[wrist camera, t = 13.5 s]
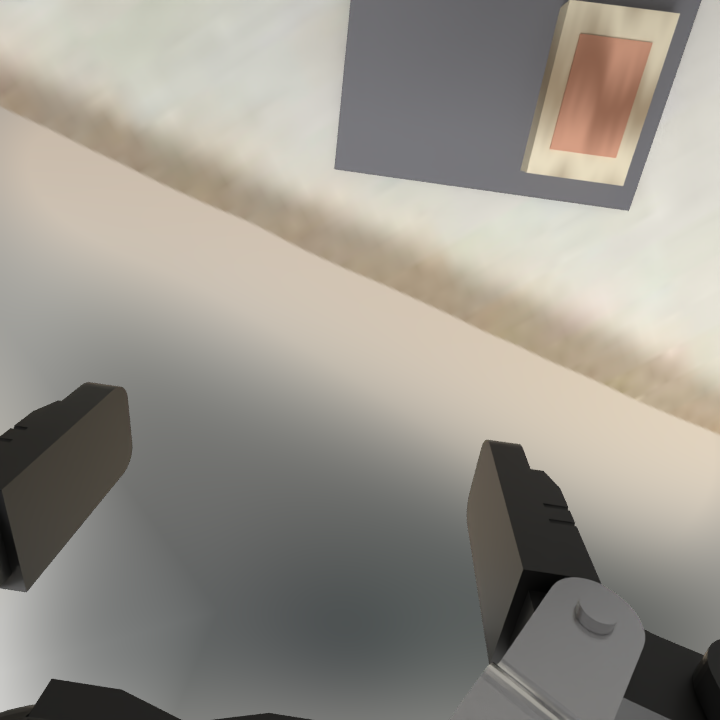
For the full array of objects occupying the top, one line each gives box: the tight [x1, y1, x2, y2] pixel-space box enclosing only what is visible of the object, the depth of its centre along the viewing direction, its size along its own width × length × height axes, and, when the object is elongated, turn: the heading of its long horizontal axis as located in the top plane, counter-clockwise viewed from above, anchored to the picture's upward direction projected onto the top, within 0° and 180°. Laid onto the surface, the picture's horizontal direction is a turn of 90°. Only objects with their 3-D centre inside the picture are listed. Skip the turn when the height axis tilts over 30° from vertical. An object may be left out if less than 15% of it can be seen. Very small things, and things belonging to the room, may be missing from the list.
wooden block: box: [521, 0, 680, 186], centre depth 30 cm, size 9×2×6 cm
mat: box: [335, 0, 701, 211], centre depth 32 cm, size 20×12×1 cm, turn 83°
